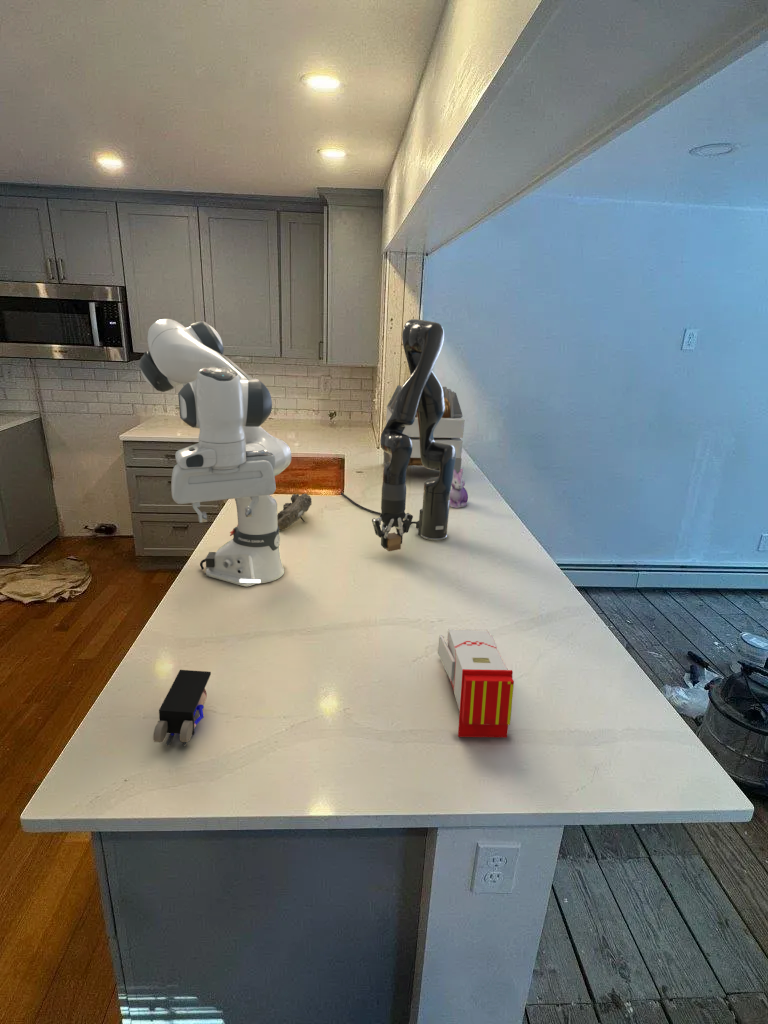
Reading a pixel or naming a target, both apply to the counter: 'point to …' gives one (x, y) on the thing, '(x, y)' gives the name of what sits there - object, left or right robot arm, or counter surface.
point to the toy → (478, 682)
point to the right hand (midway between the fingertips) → (391, 546)
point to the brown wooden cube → (393, 542)
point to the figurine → (458, 491)
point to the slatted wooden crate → (444, 431)
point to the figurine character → (182, 706)
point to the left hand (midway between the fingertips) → (226, 518)
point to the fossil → (293, 510)
